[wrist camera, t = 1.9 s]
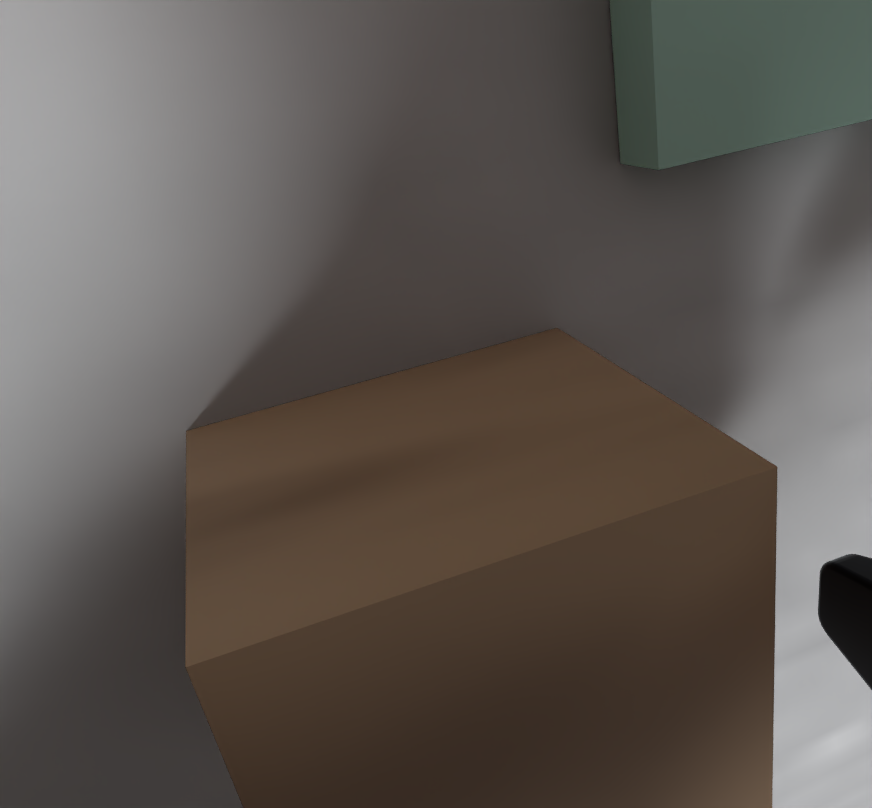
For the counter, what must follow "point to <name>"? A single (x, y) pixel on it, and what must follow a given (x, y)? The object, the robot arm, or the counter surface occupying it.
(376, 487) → the walnut brick
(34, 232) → the counter surface
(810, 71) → the base plate
